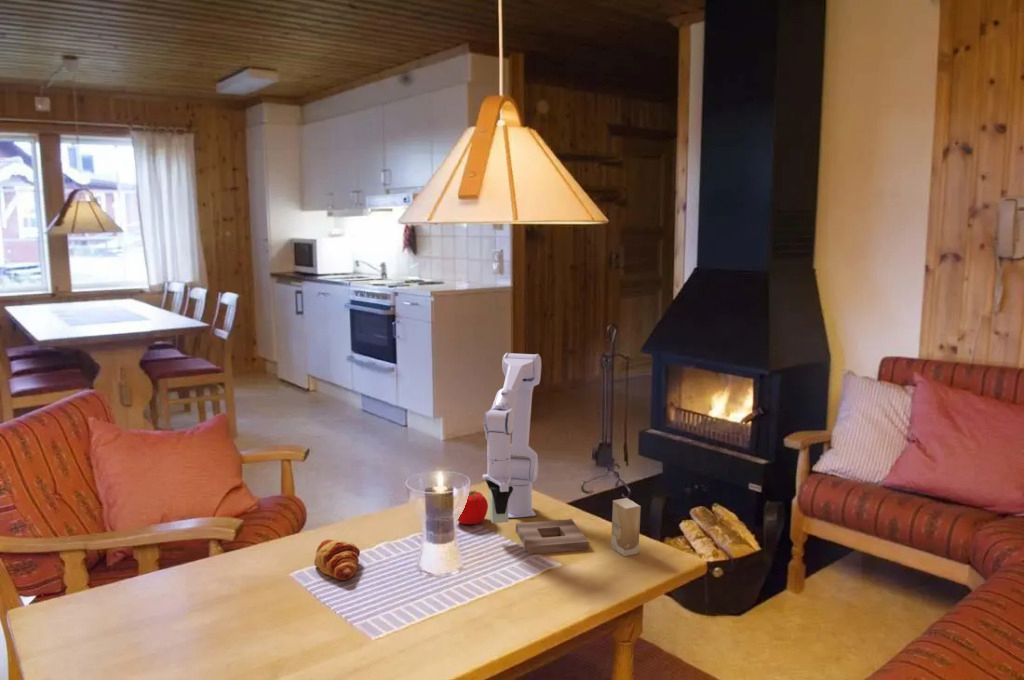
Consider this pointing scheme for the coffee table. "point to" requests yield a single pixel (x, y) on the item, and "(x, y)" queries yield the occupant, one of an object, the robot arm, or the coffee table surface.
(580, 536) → the walnut socket frame
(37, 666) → the coffee table surface
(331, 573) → the croissant
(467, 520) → the tomato
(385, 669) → the coffee table surface
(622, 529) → the skincare box
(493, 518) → the sage peg
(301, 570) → the coffee table surface
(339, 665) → the coffee table surface
